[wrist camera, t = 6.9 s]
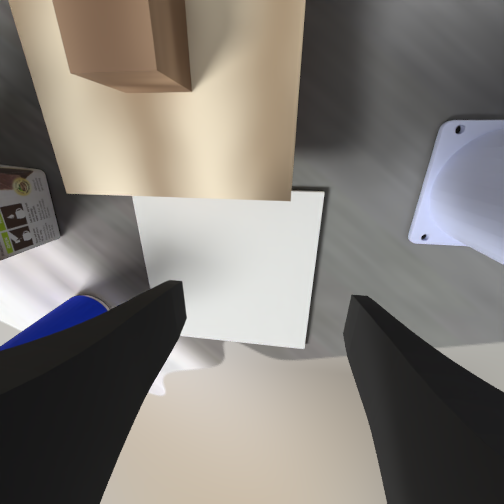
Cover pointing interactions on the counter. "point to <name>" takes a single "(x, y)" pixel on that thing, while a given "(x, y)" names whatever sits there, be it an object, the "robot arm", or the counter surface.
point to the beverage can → (60, 319)
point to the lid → (168, 94)
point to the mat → (236, 263)
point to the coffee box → (25, 210)
